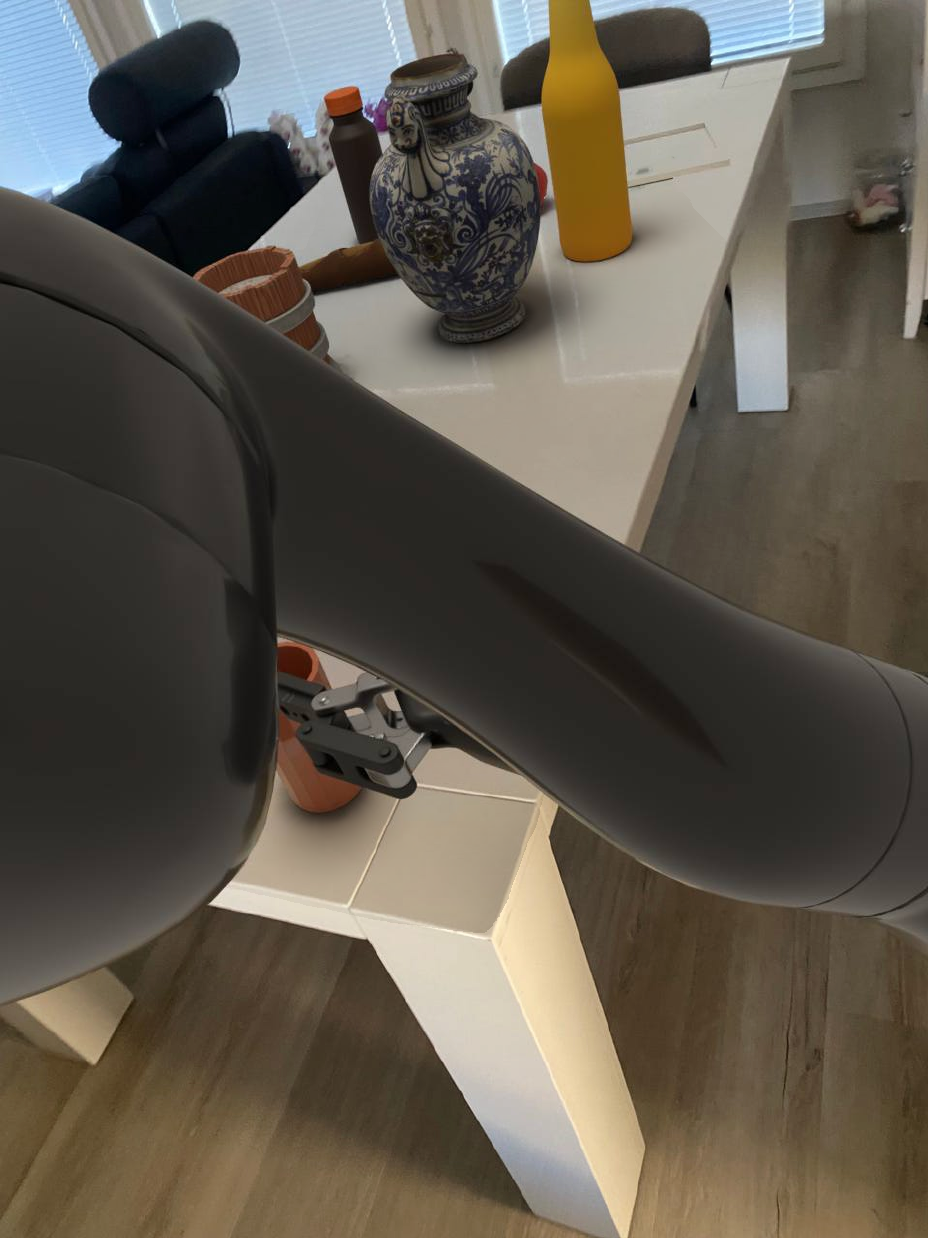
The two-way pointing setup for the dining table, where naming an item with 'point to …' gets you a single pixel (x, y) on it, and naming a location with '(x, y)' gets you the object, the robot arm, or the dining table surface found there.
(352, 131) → the vinegar
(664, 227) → the dining table surface
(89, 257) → the robot arm
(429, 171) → the decorative vase
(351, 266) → the bread
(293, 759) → the tumbler
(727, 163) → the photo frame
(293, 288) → the mug
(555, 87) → the beer bottle
